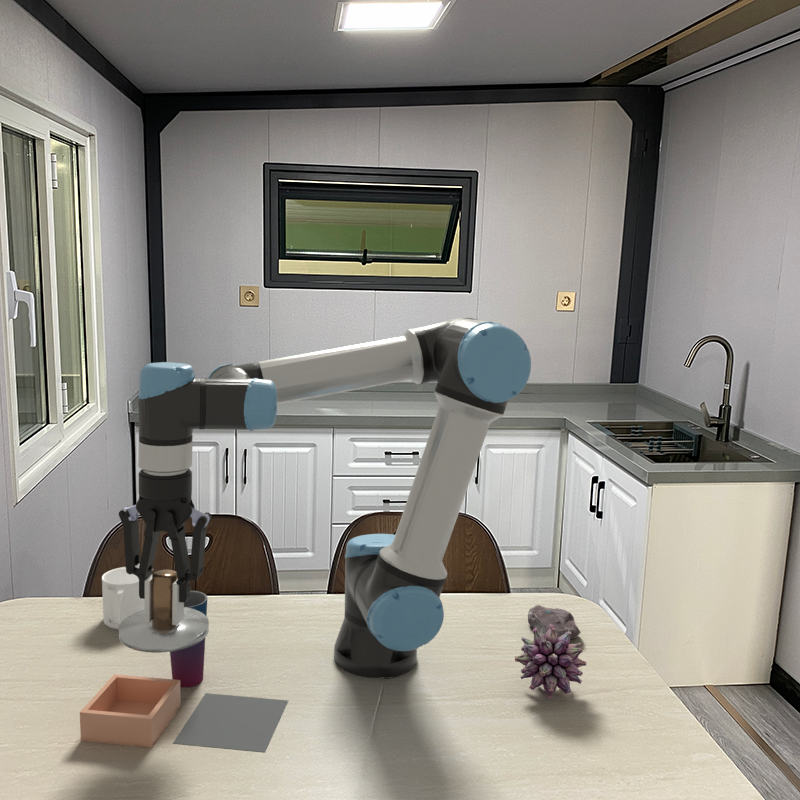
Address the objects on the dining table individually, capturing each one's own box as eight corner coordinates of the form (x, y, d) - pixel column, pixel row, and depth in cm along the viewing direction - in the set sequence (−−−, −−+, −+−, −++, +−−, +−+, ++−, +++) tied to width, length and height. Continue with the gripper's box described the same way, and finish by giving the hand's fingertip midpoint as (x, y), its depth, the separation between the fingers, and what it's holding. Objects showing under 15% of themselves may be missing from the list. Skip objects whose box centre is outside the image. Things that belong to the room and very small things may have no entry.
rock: (553, 617, 165) (554, 596, 164) (585, 641, 155) (587, 620, 154) (519, 623, 162) (520, 602, 161) (550, 648, 152) (551, 626, 151)
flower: (561, 721, 127) (566, 652, 125) (499, 692, 135) (503, 627, 133) (597, 694, 136) (602, 629, 134) (537, 668, 144) (541, 606, 142)
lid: (220, 617, 126) (221, 562, 124) (190, 656, 113) (191, 595, 112) (141, 609, 127) (141, 554, 125) (103, 647, 114) (102, 587, 113)
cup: (197, 694, 132) (196, 609, 129) (159, 689, 133) (157, 604, 130) (215, 674, 138) (214, 593, 136) (178, 669, 140) (177, 588, 137)
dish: (180, 708, 127) (180, 680, 127) (152, 750, 117) (151, 718, 116) (115, 702, 128) (114, 674, 128) (81, 743, 118) (79, 712, 117)
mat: (288, 702, 130) (288, 700, 130) (264, 754, 116) (264, 752, 116) (205, 695, 132) (205, 693, 131) (172, 745, 118) (172, 743, 118)
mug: (116, 608, 163) (114, 565, 161) (158, 611, 162) (157, 568, 160) (87, 635, 151) (85, 588, 149) (133, 638, 150) (131, 592, 148)
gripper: (229, 467, 119) (225, 614, 123) (122, 458, 120) (122, 604, 124) (212, 480, 111) (209, 636, 115) (98, 470, 113) (99, 625, 117)
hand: (164, 619), depth 120 cm, fingers closed on lid, 4 cm apart
